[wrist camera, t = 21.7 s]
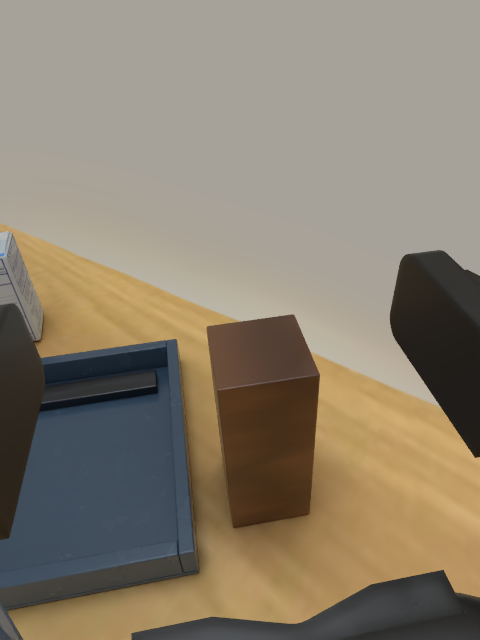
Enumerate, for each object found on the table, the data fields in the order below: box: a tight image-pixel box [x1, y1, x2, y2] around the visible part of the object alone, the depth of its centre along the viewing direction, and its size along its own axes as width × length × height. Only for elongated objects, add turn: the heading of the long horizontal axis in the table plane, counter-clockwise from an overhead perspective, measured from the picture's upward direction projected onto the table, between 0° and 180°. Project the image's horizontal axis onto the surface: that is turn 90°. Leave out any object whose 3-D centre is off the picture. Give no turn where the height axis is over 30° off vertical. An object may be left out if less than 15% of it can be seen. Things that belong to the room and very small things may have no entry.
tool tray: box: [0, 339, 199, 610], centre depth 29 cm, size 14×17×2 cm
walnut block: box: [207, 315, 320, 528], centre depth 24 cm, size 4×4×11 cm
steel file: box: [39, 370, 158, 411], centre depth 34 cm, size 10×2×1 cm, turn 99°
